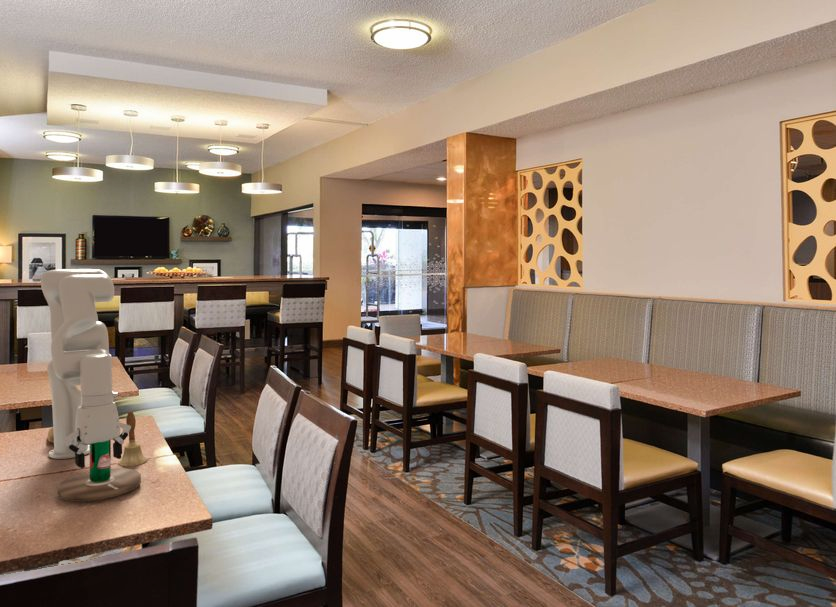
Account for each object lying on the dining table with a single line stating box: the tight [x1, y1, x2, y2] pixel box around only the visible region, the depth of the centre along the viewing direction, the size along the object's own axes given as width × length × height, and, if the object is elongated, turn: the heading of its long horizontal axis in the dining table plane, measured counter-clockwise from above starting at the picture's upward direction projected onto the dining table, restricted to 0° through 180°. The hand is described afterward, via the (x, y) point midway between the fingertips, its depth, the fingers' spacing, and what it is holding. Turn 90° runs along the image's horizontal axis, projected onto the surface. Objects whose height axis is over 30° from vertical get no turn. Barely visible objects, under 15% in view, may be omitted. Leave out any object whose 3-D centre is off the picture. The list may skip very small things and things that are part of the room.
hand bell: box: [117, 410, 148, 467], centre depth 186 cm, size 8×8×16 cm
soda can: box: [89, 440, 112, 483], centre depth 163 cm, size 5×5×12 cm
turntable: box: [57, 467, 142, 502], centre depth 163 cm, size 20×20×2 cm
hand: (99, 462), depth 163 cm, fingers open, 9 cm apart
